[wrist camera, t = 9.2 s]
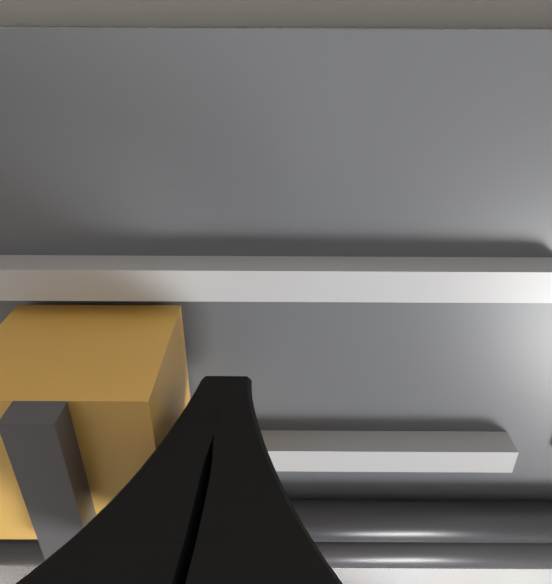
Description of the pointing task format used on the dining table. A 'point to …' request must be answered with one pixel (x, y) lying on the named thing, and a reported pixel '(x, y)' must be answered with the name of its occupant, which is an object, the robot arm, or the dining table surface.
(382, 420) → the grey base plate
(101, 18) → the dining table surface
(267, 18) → the dining table surface
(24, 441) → the switch
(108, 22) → the dining table surface
